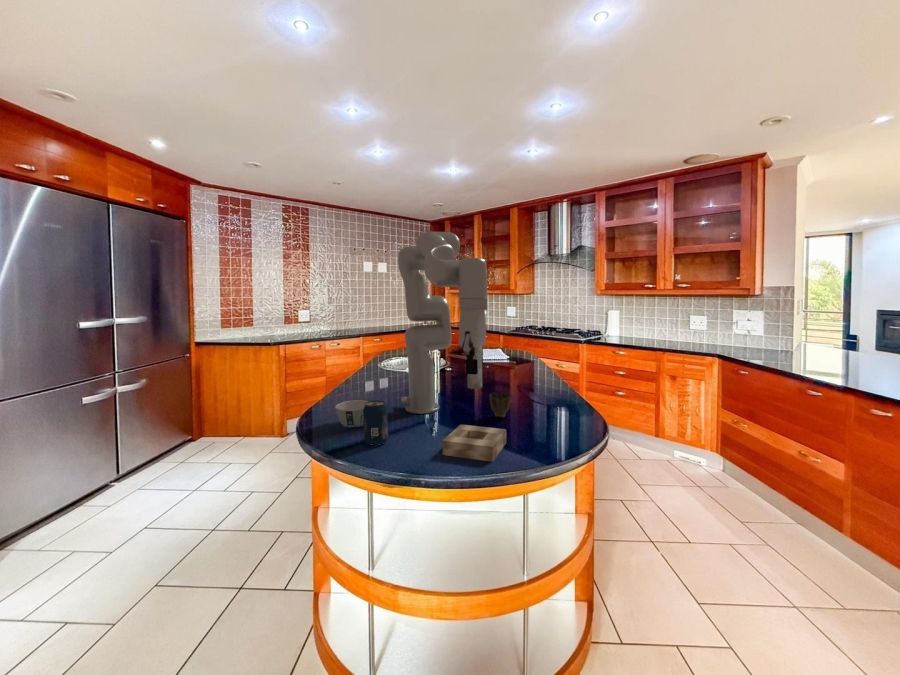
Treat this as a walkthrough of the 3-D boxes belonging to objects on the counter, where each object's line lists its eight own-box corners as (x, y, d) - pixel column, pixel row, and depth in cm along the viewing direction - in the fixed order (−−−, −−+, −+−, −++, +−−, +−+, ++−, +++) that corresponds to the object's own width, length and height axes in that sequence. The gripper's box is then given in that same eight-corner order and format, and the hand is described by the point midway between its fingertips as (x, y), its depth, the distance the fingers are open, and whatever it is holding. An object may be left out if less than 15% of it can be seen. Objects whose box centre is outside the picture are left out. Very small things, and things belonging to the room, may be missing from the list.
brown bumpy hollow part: (510, 413, 145) (510, 391, 144) (511, 420, 137) (511, 397, 136) (489, 413, 145) (489, 391, 144) (489, 420, 138) (489, 397, 137)
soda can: (366, 439, 123) (364, 400, 122) (389, 438, 123) (387, 399, 122) (362, 447, 116) (360, 406, 115) (387, 446, 116) (385, 405, 115)
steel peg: (465, 388, 110) (464, 337, 109) (470, 385, 114) (469, 335, 112) (479, 389, 109) (478, 337, 107) (484, 386, 112) (483, 335, 111)
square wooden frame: (442, 454, 110) (442, 440, 109) (460, 437, 122) (460, 424, 122) (492, 461, 104) (492, 446, 104) (506, 442, 117) (506, 429, 117)
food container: (343, 417, 145) (342, 400, 144) (376, 418, 143) (375, 400, 143) (330, 429, 133) (329, 409, 132) (366, 429, 131) (365, 410, 131)
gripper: (470, 304, 118) (471, 366, 120) (448, 306, 103) (450, 377, 104) (495, 303, 115) (496, 367, 117) (476, 305, 100) (478, 379, 102)
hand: (474, 371), depth 111 cm, fingers closed on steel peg, 4 cm apart
